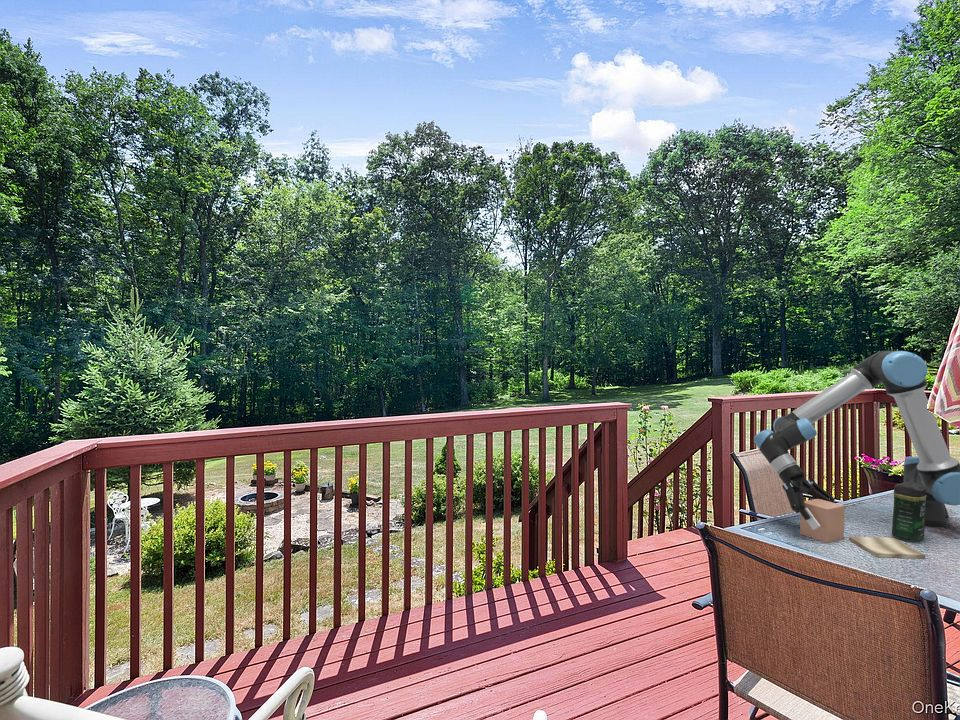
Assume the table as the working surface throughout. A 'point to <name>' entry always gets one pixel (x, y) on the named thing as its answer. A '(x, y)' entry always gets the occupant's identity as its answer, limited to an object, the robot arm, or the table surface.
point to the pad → (886, 547)
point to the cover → (824, 520)
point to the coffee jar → (909, 511)
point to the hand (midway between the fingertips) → (829, 525)
